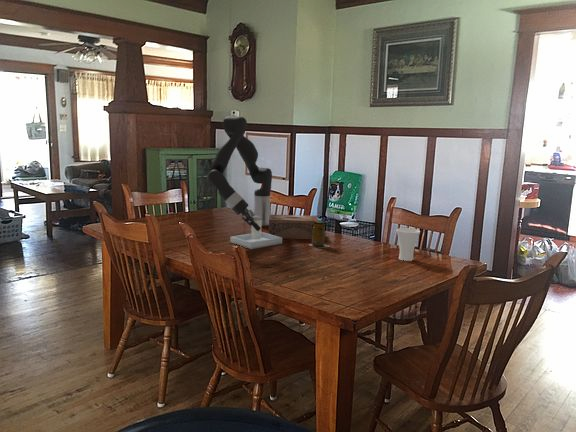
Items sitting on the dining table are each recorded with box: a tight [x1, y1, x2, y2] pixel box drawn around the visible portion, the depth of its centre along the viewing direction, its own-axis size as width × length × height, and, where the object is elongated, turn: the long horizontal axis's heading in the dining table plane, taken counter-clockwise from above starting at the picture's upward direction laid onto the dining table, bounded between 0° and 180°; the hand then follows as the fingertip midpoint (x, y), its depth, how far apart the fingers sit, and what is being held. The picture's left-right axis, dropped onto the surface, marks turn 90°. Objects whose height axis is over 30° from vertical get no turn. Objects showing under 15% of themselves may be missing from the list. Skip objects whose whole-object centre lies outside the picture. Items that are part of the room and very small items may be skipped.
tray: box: [230, 231, 283, 250], centre depth 245 cm, size 20×16×3 cm
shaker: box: [250, 216, 263, 239], centre depth 244 cm, size 5×5×11 cm
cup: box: [396, 227, 421, 262], centre depth 224 cm, size 10×10×14 cm
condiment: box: [308, 220, 331, 249], centre depth 244 cm, size 7×8×12 cm
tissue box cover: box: [268, 214, 319, 240], centre depth 264 cm, size 26×14×10 cm, turn 90°
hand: (260, 228), depth 244 cm, fingers closed on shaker, 5 cm apart
